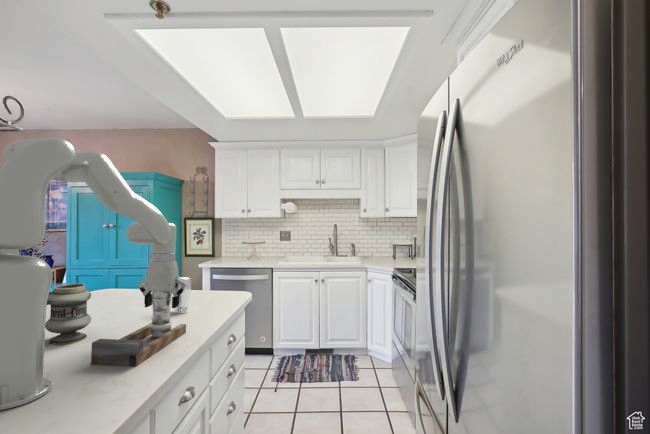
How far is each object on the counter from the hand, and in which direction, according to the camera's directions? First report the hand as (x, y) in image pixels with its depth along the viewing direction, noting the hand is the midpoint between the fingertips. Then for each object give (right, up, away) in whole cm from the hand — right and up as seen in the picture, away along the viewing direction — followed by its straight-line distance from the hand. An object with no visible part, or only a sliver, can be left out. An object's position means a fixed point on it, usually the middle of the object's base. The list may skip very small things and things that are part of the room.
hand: (161, 306), depth 111 cm
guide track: (-1, -10, -9) cm, 14 cm away
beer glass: (-7, -11, +31) cm, 34 cm away
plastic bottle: (0, -11, 0) cm, 10 cm away
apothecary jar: (-29, -10, -5) cm, 31 cm away
